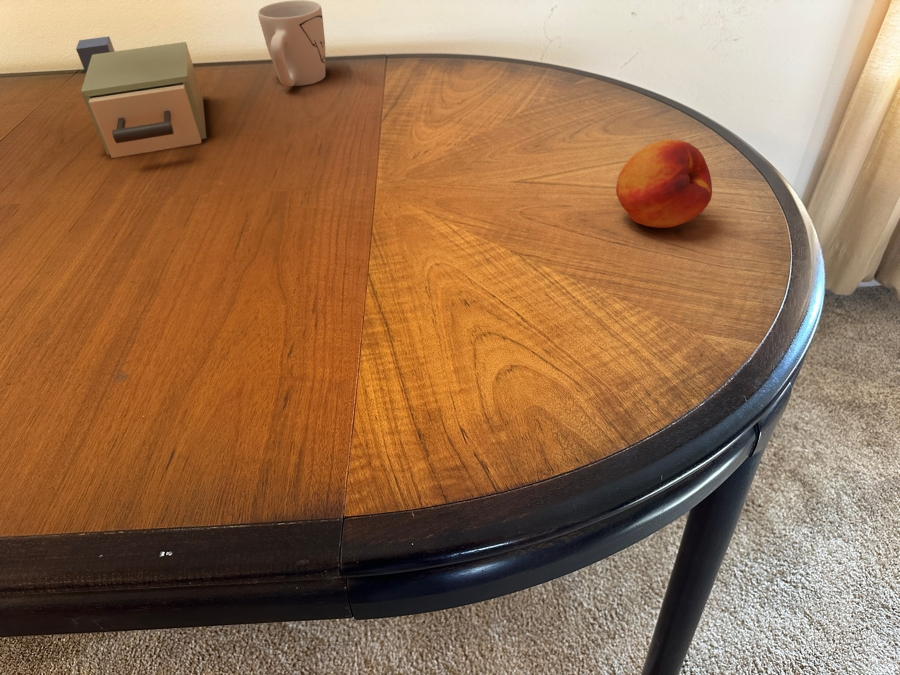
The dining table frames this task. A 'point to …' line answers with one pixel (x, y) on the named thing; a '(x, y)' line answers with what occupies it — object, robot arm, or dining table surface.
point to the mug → (295, 40)
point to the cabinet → (143, 76)
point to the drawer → (145, 120)
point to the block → (93, 49)
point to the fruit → (665, 184)
